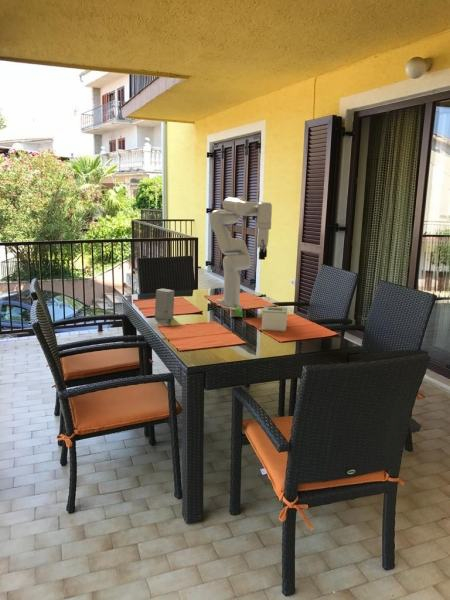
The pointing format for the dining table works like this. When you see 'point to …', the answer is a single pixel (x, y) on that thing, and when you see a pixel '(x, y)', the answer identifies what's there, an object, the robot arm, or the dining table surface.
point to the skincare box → (164, 304)
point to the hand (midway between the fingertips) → (262, 258)
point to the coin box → (274, 318)
